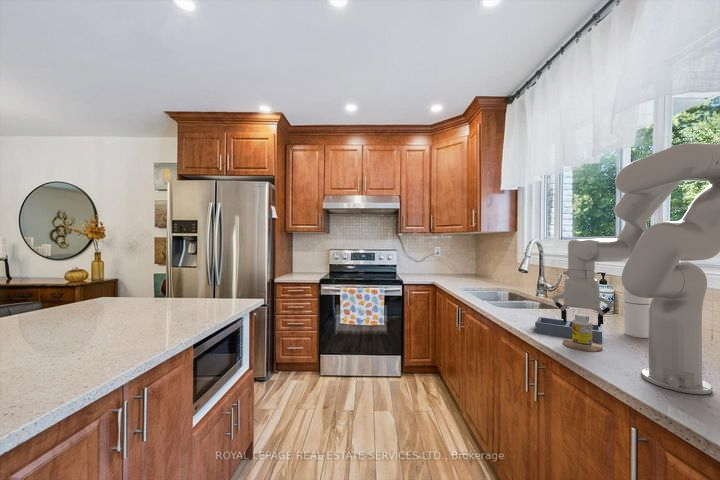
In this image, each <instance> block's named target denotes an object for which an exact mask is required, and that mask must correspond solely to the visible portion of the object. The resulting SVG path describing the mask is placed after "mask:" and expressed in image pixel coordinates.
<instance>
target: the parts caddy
mask: <svg viewBox="0 0 720 480" xmlns="http://www.w3.org/2000/svg"><path fill="white" fill-rule="evenodd" d="M534 323H535V326H534V330H535V331H534V332H535V333H540V334H545V335H551V336H556V337H564V338H569V339H572V320H567V321H566V322H563V319H559V318H550V317H542V316H539V317H538V319H536V321H535V322H534ZM592 326H593V330H592V343H601V344H603V324H601V327H598V324H597V323H596V324H595V323H592Z"/></svg>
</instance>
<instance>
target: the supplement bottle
mask: <svg viewBox="0 0 720 480" xmlns="http://www.w3.org/2000/svg"><path fill="white" fill-rule="evenodd" d="M571 321H572V338H571V339H572V341H573V343H574V344H576V345H579V346H584V347H589V346H592V343H593V341H592V324H593V323H592V322H591V321H590V315H588V314H583V313H576V314H574V319H572V320H571Z"/></svg>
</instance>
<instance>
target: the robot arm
mask: <svg viewBox="0 0 720 480" xmlns="http://www.w3.org/2000/svg"><path fill="white" fill-rule="evenodd" d="M681 182H707V183H708V186H707V187H706V188H705V189H704V190H702V191H701V192H700V193H699V194H698V195H696V196H695V198H694V199H693V200H692V201H691V203H690V205H689V206H688V209H687V210H686V212H685V213H684V215H683V216H682V218H681V219H680V220H674V221H672V220H670V221H668V220H667V221H661V222H657V223H654V224H652V225H651V226H649V227H648V221H649V220H650V218H651V217H652V216H653V215H654V214H655V212H656V211H657V210H658V209H659V208H660V207H661V206H662V204H663V203H664V202H665V201H666V200H667V199H668V197H669V196H671V194H672V193H673V192H674V191H675V189H677V187H678V186H679V185H680V183H681ZM614 184H615V187H616V189H617V190H618V191H619V192H620V193H622V194H623V195H622V196H621V198H620V199H619V200H618V202H617V203H616V204H615V205H614V207H613V213H614V214H615V216H616V217H617V218H619V219H620V220H622V221H623V222H625V224H624V227H623V229H622V230H620V232H619V233H618V234H617V236H616V237H615V238H589V239H571V240H569V241H568V244H567V268H568V269H567V270H563V271H562V273H563V275H566V276H568V277H565V279H564V286H563V292H562V293H560V294H557V295H554V296H552V298H551V299H552V301H553V303H554V304H555V306H556V307H557V308H558V309H559V310H560V311H561V313H560V315H561V316H560V318H561V319H560V320H563V322H566V321H568V320H567V318H568V317H567V316H568V315H567V311H568V310H567V308H577V309H587V310H595V311H596V312H597V325H598V327H601V325H604V316H605V315H606V314H607V313H608V312H610V311H611V310H612V308H613V307H614V305H615V303H614V302H613V301H611V300H610V299H607V298H604V297H603V296H601V293H600V290H601V289H600V284H599V280H598V279H596V263H604V262H606V263H607V262H608V263H609V262H623V261H626V260H627V261H626V263H625V265H624V267H623V270H622V271H621V272H622V273H621V282H622V286H623V288H625V289H626V290H627V291H628V292H629V293H630V294H632V295H634V296H637V297H642V298H649V299H651V301H650V302H649V312H648V333H649V338H648V368H647V367H646V368H643V369H641V370H640V375H641V377H642V378H643V379H644V380H646V381H647V382H649V383H651V384H653V385H656V386H658V387H662V388H664V389H668V390H672V391H676V392H679V393H686V394H692V395H709V394H711V393H713V386H712V385H711V384H710V383H708V382H707V381H705V380H703V306H704V305H703V304H704V300H705V296H706V292H707V289H708V288H707V287H708V279H707V275H706V274H705V271H704V270H703V269H702V268H701V267H699V266H698V265H696V264H695V263H692V261H694V262H695V261H705V260H709V259H712V258H715V257H716V256H718V254H719V253H720V143H712V142H711V143H709V142H708V143H707V142H684V143H679V144H676V145H673V146H670V147H667V148H664V149H662V150H660V151H657V152H654V153H651V154H650V155H646V156H644V157H640V158H639V159H637V160H633V161H632V162H630V163H627V164H626V165H624V167H622V168H620V170H619V171H618V173H617V175H616V176H615V180H614ZM689 261H691V262H689ZM562 298H563V304H561V302H559V299H562ZM601 302H602V303H604V304H606V307H604V308H603V309H602V308H601Z"/></svg>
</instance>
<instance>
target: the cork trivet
mask: <svg viewBox="0 0 720 480" xmlns="http://www.w3.org/2000/svg"><path fill="white" fill-rule="evenodd" d="M562 345H564V346H565V347H566V348H569V349H572V350H575V351H581V352H589V353H598V352H602V351H603V347H602V345H600V344H598V343H596V342H592V346H589V347H584V346H579V345H576V344H574V343H573V341H572V338H569V339H564V340H563V341H562Z"/></svg>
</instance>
